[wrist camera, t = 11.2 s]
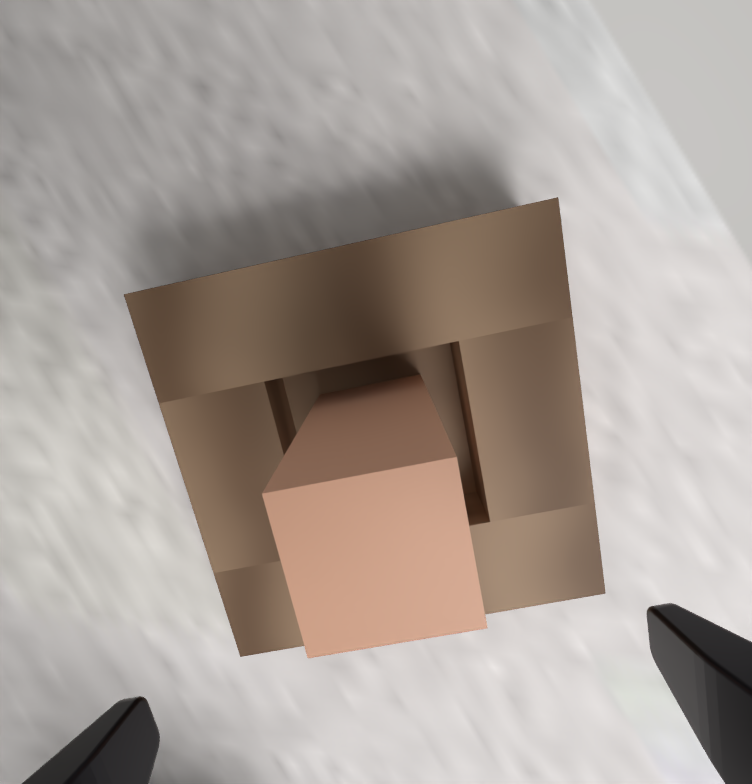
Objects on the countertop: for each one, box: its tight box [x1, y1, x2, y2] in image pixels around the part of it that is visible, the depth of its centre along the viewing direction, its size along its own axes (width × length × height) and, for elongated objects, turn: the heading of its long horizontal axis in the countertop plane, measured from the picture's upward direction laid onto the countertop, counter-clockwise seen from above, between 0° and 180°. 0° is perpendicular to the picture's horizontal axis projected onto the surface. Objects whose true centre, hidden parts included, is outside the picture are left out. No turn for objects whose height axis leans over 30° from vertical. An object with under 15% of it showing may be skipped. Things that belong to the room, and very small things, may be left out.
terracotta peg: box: [262, 374, 487, 658], centre depth 14 cm, size 4×4×9 cm
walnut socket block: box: [124, 198, 605, 657], centre depth 18 cm, size 14×14×4 cm
